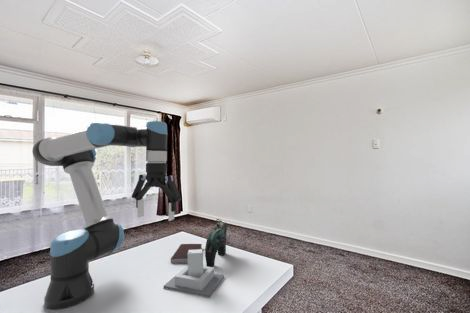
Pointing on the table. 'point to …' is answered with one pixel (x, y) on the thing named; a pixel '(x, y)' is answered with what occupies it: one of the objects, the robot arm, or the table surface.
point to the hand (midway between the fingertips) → (155, 218)
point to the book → (184, 252)
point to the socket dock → (197, 292)
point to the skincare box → (195, 263)
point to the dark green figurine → (216, 243)
